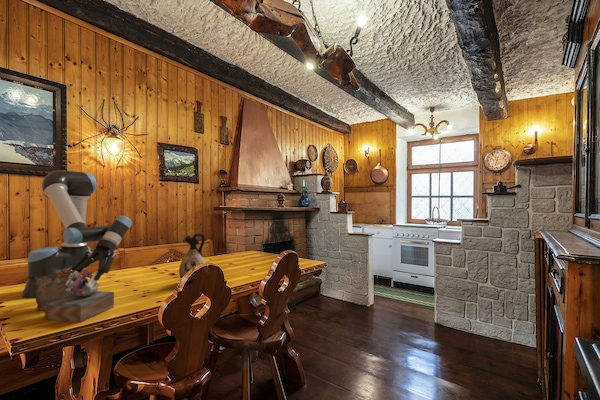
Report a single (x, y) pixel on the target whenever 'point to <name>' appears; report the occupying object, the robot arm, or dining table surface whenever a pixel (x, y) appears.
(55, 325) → the dining table surface
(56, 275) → the mineral sample
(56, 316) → the wooden block
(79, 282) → the brake caliper
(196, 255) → the ceramic jug
